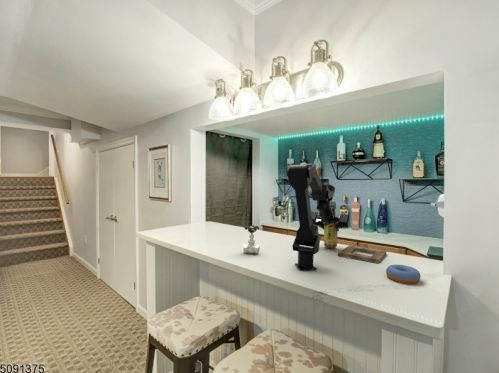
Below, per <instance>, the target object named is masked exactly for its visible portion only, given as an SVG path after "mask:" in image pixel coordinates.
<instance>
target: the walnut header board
mask: <svg viewBox="0 0 499 373" xmlns="http://www.w3.org/2000/svg"><path fill="white" fill-rule="evenodd" d="M355 252H358V253H355ZM361 253H363V254H361ZM366 254H370V255H366ZM337 256H338V257H343V258H347V259H353V260H356V261H357V260H358V261H364V262H369V263H373V264H380V263H381V261H382V260H383V259H384V258H385V257H386V256H387V250H380V249H375V248H370V247H369V248H368V247H362V246H357V245H350V244H349V245H347V247H345V248H343V249H341V250H340V251H339V252H337Z"/></svg>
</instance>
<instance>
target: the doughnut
mask: <svg viewBox="0 0 499 373" xmlns="http://www.w3.org/2000/svg"><path fill="white" fill-rule="evenodd" d="M385 273H386V276H387V277H388V279H390V280H393V281H394V282H397V283H400V282H401V284H406V283H409V285H412V284H417V283H419V282H420V281H421V273H420V271H419V270H418V269H416V268H414V267H412V266H409V265H404V264H391V265H388V266H387V267H386V269H385Z"/></svg>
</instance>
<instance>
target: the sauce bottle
mask: <svg viewBox="0 0 499 373" xmlns="http://www.w3.org/2000/svg"><path fill="white" fill-rule="evenodd" d="M334 216H336V214H335V215H334ZM336 224H337V221H333V222H332V223H328V222H324V229H323V246H324V247H325V248H330V249H331V248H332V249H334V248H336V247H337V246H338V231H337V229H336Z"/></svg>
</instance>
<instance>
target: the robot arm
mask: <svg viewBox="0 0 499 373" xmlns="http://www.w3.org/2000/svg"><path fill="white" fill-rule="evenodd" d="M286 177H287V179H288V180H287V181H288V183H289V185H290V186H291V188H292V189H293V190H294V194H295V200H296V202H295V203H296V208H297V216H298V223H299V227H298V228H297V231H296V234H295V238H294V240H293V242H292V243H293V244H292V251H294V252H297V263H294V266H295V267H296V268H297V269H298V270H299V271H315V270H317V269H318V268H317V267H316V266H315V265H314V255H316V254H318V253H319V250H320V245H321V244H320V241H321V236H320V234H319V228H320V229H322V230H324V222H328V223H332V222H333V221H337V224H336V229H337V232H339V231H340V229H342V228H345V229H347V228H349V226H350V222H351V215H350V214H348V213H340V215H336V209H337V203H336V201H333V198H334V195H335V193H336V192H335V191H336V187H335V186H334V185H332V184H330V182H325V183H323V182H322V180H321V177H320V176H319V173H318V171H317V166H316V164H314V163H303V164H291V165H289V167H288V168H287V169H286ZM309 188H310V189H311V191H310V190H309ZM310 197H311V199H312V201H315V202H316V210H317V211H313V210H312V209H311V208H312V207H311V199H310ZM334 215H335V216H334Z"/></svg>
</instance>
